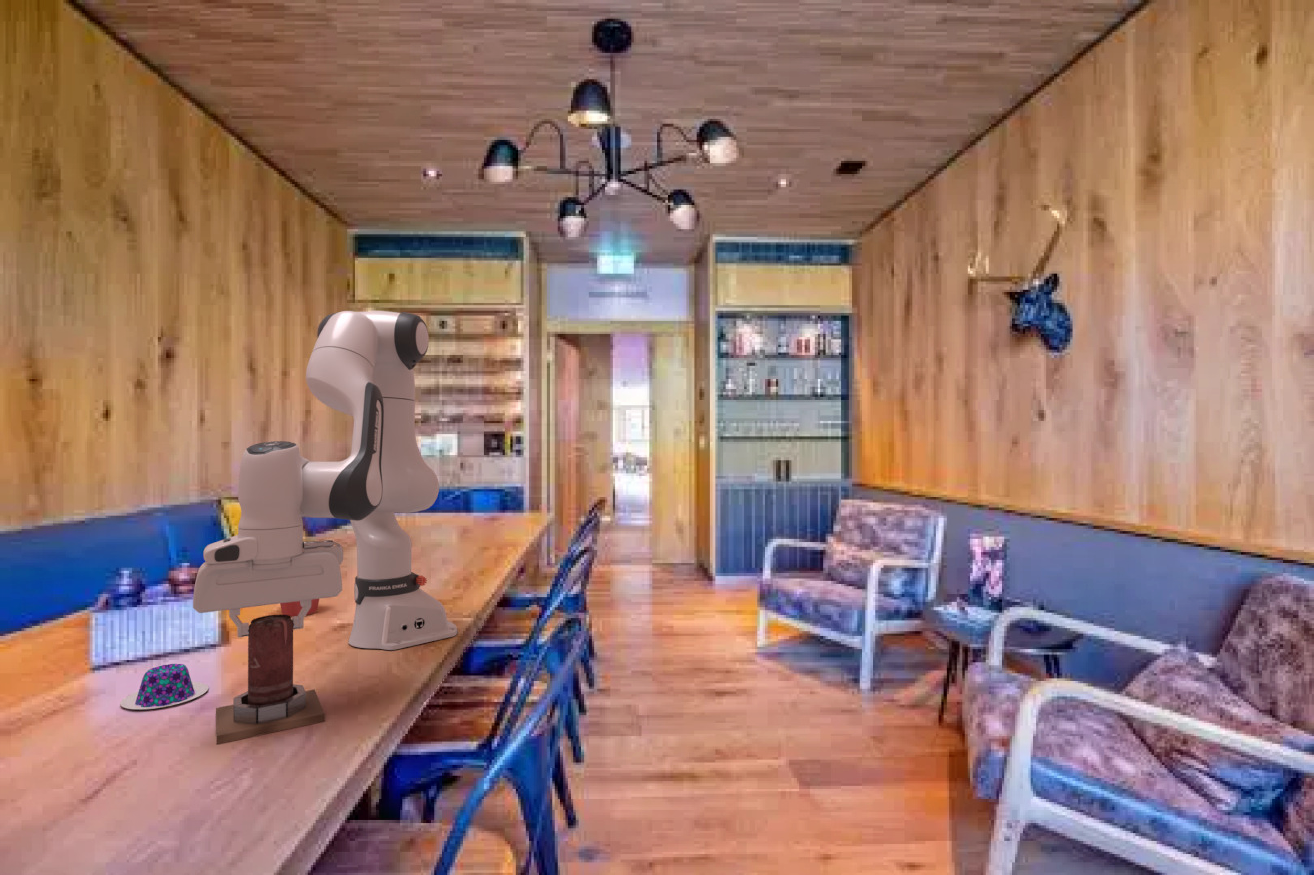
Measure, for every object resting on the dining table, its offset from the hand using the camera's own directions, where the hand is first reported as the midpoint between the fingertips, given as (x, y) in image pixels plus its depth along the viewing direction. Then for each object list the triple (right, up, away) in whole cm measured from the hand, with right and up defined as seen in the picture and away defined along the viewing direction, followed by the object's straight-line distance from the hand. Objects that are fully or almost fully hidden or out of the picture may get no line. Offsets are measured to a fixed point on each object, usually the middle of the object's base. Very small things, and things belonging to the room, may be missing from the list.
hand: (270, 632), depth 103 cm
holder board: (0, -14, 0) cm, 14 cm away
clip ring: (0, -12, 0) cm, 12 cm away
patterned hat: (-23, -14, +8) cm, 28 cm away
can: (0, -12, 0) cm, 12 cm away
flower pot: (-30, -14, +63) cm, 71 cm away
